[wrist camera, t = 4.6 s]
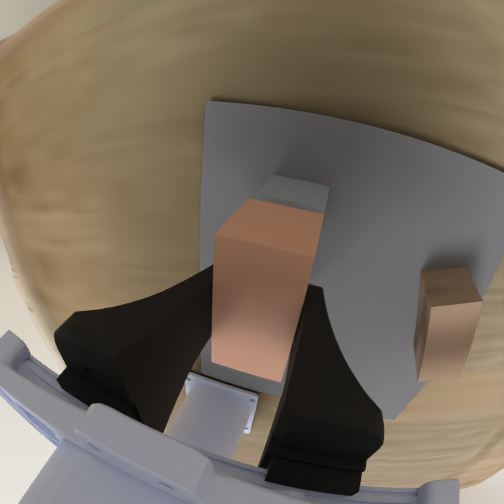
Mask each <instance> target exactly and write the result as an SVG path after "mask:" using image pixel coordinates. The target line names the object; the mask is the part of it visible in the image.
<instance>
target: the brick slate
mask: <svg viewBox="0 0 504 504" xmlns="http://www.w3.org/2000/svg"><path fill="white" fill-rule="evenodd" d="M329 188H330V186H326V185H321V184H317V183H312V182H307V181H303V180H298V179H293V178H288V177H283V176H278V175H273V176H272V177H271V178H270V179H269V180H268V181H267V182H266V183H265V184H264V185H263V186H262V187H261V188H260V189H259V191H258V192H257V193H256V195H255V200H259V201H264V202H269V203H274V204H279V205H283V206H288V207H293V208H297V209H302V210H306V211H311V212H315V213H319V214H324V213H325V208H326V203H327V198H328V193H329Z"/></svg>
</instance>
